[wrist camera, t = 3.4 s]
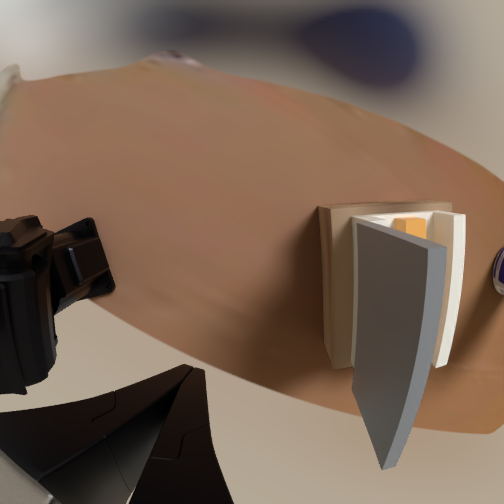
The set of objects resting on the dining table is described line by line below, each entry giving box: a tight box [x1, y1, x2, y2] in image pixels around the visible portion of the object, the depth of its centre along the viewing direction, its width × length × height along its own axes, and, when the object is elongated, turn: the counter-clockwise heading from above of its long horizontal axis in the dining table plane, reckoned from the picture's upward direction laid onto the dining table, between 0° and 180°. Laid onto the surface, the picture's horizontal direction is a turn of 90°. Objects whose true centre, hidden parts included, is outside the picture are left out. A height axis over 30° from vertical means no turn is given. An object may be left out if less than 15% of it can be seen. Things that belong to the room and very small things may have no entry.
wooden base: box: [318, 200, 452, 370], centre depth 18 cm, size 9×11×4 cm
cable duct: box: [351, 211, 465, 368], centre depth 15 cm, size 6×10×3 cm, turn 6°
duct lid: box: [352, 221, 447, 470], centre depth 10 cm, size 6×10×1 cm
